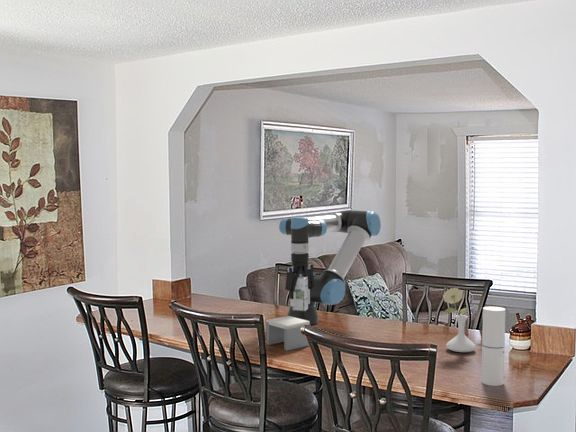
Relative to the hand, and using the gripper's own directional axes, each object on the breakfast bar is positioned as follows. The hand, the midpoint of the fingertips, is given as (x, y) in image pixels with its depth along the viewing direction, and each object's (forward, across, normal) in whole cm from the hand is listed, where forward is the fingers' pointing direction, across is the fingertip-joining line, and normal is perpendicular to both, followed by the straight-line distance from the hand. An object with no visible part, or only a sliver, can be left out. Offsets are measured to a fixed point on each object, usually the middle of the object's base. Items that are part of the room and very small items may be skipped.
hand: (300, 304), depth 289 cm
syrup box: (+2, 0, 0) cm, 2 cm away
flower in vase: (+13, +29, -61) cm, 69 cm away
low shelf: (+12, -17, -11) cm, 23 cm away
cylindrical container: (+13, +4, -92) cm, 93 cm away
